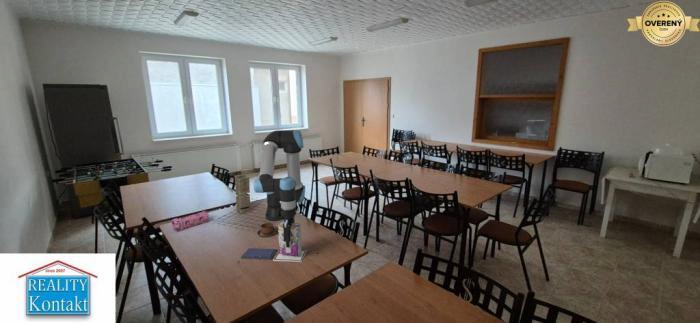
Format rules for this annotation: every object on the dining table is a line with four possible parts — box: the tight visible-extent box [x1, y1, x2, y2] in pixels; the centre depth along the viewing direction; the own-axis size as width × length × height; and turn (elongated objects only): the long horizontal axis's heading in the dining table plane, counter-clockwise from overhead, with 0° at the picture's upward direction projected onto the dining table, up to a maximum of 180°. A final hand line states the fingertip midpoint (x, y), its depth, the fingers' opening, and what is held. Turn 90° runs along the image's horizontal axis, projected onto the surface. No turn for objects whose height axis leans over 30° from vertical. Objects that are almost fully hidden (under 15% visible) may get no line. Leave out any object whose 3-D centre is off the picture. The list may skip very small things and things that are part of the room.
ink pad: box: [240, 247, 278, 260], centre depth 156 cm, size 10×16×1 cm, turn 85°
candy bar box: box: [277, 221, 302, 256], centre depth 154 cm, size 11×5×16 cm, turn 76°
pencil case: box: [171, 210, 210, 233], centre depth 193 cm, size 21×9×9 cm, turn 141°
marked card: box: [272, 249, 307, 263], centre depth 155 cm, size 12×15×1 cm
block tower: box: [234, 173, 252, 215], centre depth 217 cm, size 8×8×29 cm
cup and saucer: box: [257, 222, 278, 238], centre depth 182 cm, size 12×12×6 cm
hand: (290, 249), depth 155 cm, fingers closed on candy bar box, 5 cm apart
